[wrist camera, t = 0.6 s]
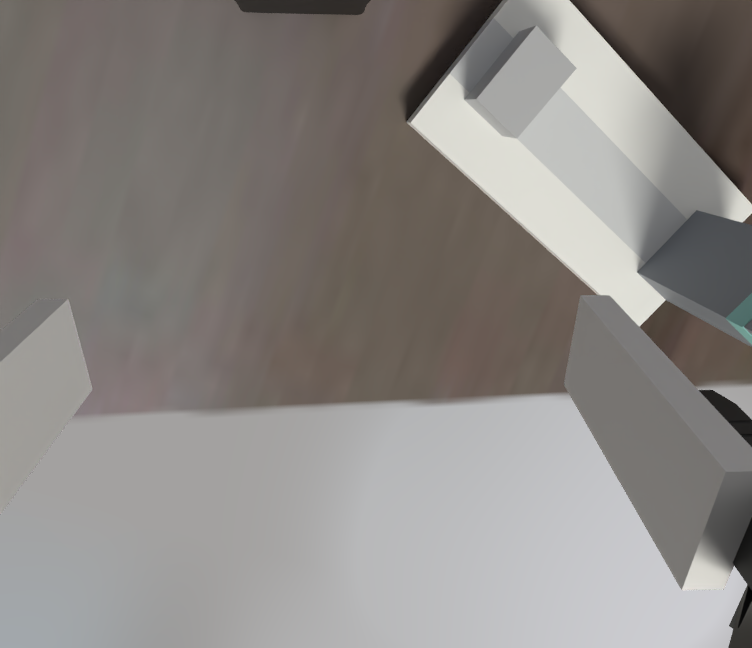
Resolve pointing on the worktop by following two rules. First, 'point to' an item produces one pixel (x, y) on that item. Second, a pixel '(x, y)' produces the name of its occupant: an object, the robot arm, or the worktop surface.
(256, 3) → the battery charger
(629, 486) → the robot arm
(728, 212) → the mount
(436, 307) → the worktop surface
